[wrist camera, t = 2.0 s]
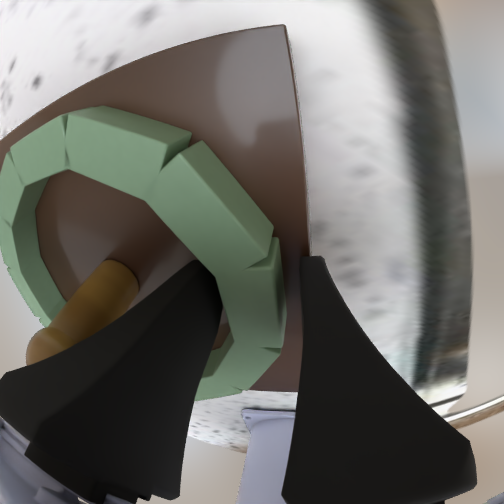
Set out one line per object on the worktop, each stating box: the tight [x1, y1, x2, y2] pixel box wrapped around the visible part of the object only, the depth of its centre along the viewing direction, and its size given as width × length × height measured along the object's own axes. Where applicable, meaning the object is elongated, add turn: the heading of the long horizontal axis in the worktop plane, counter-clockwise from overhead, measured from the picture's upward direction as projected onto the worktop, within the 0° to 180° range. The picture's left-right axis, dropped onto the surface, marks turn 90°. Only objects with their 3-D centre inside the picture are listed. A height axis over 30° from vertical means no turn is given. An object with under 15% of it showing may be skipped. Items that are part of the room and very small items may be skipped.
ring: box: [0, 105, 287, 401], centre depth 10 cm, size 13×13×2 cm
